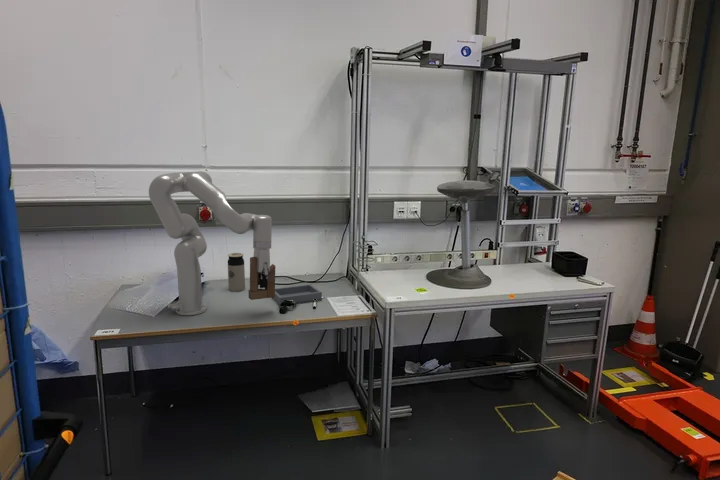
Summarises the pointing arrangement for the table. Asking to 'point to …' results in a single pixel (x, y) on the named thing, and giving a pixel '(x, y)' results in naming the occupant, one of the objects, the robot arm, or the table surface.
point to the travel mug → (236, 272)
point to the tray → (297, 294)
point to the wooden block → (254, 279)
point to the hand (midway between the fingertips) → (261, 285)
